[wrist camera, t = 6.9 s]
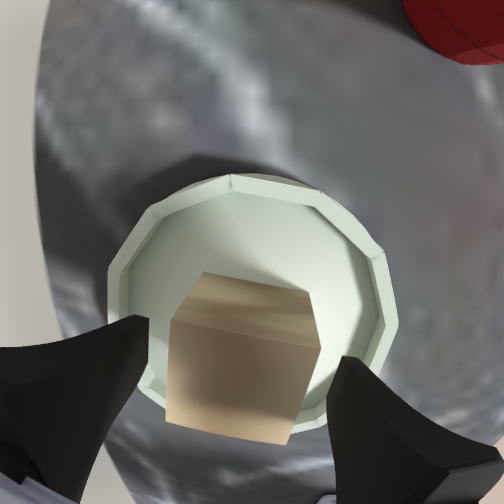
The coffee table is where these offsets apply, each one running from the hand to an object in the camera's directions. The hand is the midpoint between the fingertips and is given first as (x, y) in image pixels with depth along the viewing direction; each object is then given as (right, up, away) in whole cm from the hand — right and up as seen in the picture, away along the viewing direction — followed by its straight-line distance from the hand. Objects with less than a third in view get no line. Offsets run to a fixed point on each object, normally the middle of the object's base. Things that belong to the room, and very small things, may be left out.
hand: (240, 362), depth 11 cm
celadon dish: (0, +1, +4) cm, 4 cm away
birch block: (0, +1, +3) cm, 3 cm away
